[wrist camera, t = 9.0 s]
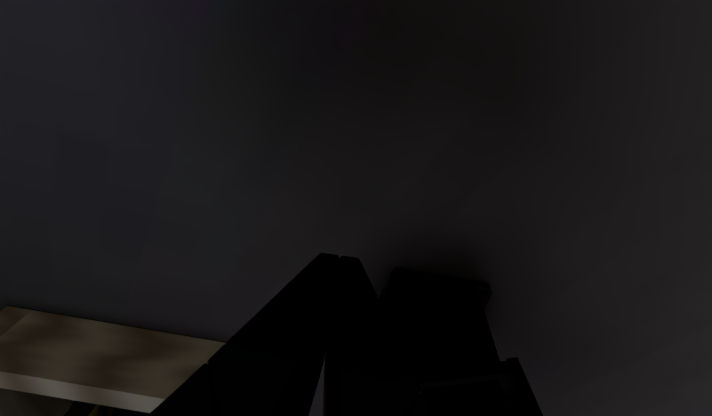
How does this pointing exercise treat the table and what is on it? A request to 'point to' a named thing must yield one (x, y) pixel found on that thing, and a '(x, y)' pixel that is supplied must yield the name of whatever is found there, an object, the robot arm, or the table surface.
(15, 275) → the table surface
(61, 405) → the arena
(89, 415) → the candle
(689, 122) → the table surface
